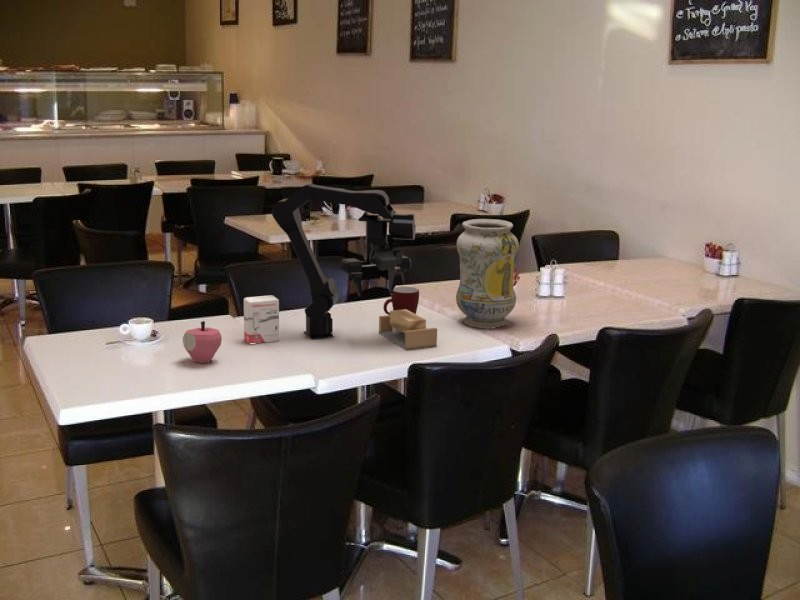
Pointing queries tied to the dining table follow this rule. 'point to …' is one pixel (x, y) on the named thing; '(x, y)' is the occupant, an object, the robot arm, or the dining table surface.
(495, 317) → the vase
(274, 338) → the ink box
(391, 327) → the peg stand
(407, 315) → the tan wooden block
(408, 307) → the mug
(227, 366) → the dining table surface
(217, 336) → the apple
